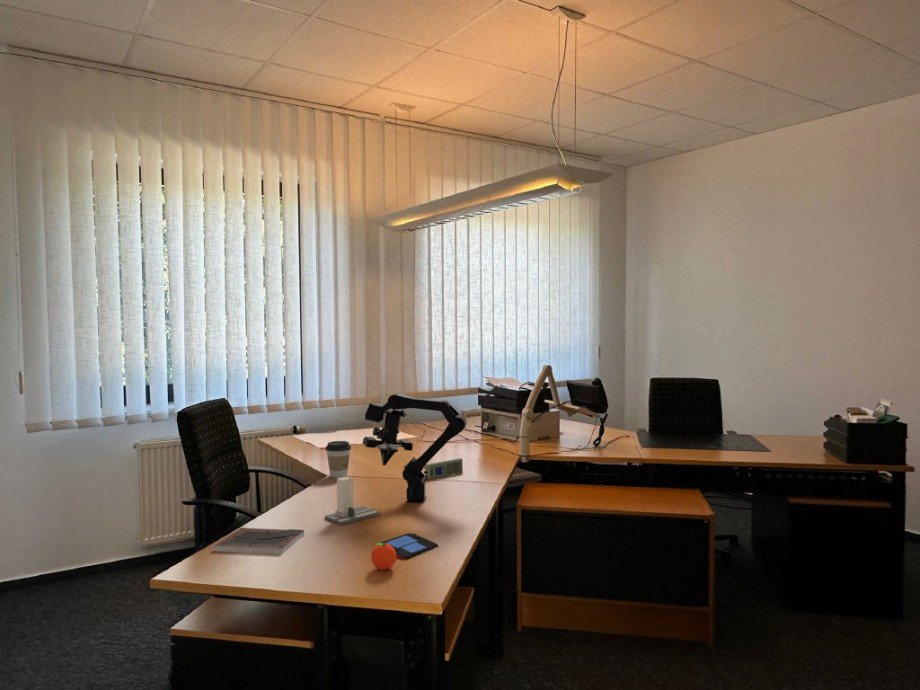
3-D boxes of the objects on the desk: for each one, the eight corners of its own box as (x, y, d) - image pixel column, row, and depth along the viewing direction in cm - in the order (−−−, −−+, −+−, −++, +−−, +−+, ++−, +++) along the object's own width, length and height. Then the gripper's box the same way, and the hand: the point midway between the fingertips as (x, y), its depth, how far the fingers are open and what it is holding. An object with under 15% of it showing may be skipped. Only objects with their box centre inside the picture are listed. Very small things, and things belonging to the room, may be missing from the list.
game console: (404, 562, 178) (404, 554, 178) (375, 551, 186) (375, 543, 186) (439, 548, 188) (439, 540, 188) (410, 538, 197) (410, 531, 197)
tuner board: (363, 508, 227) (363, 505, 227) (379, 514, 220) (379, 511, 220) (324, 518, 216) (324, 515, 216) (340, 525, 209) (340, 521, 209)
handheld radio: (464, 473, 280) (418, 482, 264) (459, 472, 282) (413, 481, 267) (463, 458, 280) (417, 467, 264) (458, 457, 282) (413, 466, 267)
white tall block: (347, 511, 219) (347, 476, 219) (359, 516, 214) (358, 479, 214) (335, 514, 216) (334, 478, 216) (347, 519, 211) (346, 482, 210)
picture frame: (304, 537, 199) (240, 534, 203) (304, 529, 199) (240, 527, 202) (282, 556, 183) (213, 553, 186) (282, 548, 183) (213, 545, 186)
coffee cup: (346, 480, 268) (345, 445, 268) (321, 479, 271) (320, 444, 270) (355, 473, 279) (355, 440, 279) (331, 472, 282) (331, 440, 281)
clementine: (363, 569, 171) (362, 544, 171) (379, 561, 177) (379, 536, 177) (385, 576, 167) (384, 549, 166) (401, 567, 172) (401, 542, 172)
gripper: (406, 422, 249) (399, 460, 250) (362, 418, 241) (354, 457, 242) (416, 430, 239) (409, 469, 240) (370, 425, 231) (363, 466, 232)
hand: (383, 465), depth 239 cm, fingers closed
